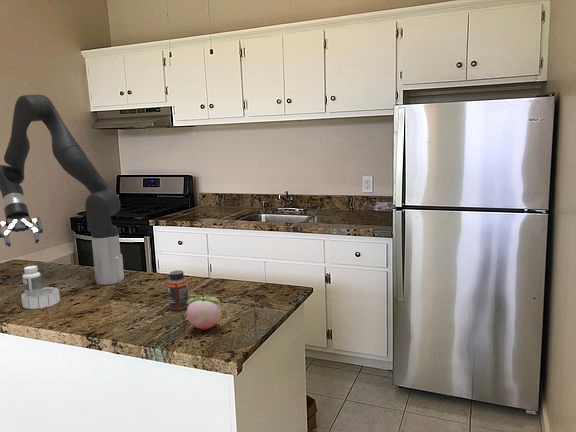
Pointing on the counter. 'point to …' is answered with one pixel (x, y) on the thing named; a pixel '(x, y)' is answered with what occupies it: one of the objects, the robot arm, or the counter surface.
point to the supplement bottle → (177, 291)
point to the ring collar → (40, 298)
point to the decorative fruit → (203, 312)
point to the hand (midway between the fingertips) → (23, 243)
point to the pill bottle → (31, 278)
